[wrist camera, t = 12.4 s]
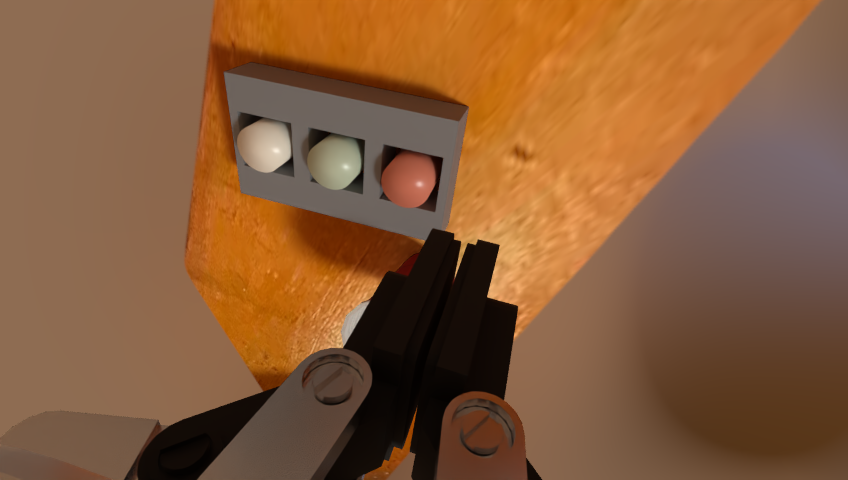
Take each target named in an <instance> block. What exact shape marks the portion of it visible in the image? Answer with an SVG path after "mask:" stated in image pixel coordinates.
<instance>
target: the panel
mask: <svg viewBox="0 0 848 480" xmlns="http://www.w3.org/2000/svg"><path fill="white" fill-rule="evenodd" d="M224 77H225V84H226V91H227V98H228V105H229V112H230V119H231V126H232V133H233V140H234V147H235V154H236V161H237V168H238V174H239V181H240V188H241V193H244V194H247V195H251V196H255V197H259V198H263V199H267V200H271V201H275V202H278V203H282V204H286V205H290V206H294V207H298V208H302V209H305V210H309V211H313V212H317V213H321V214H325V215H329V216H332V217H336V218H340V219H344V220H348V221H352V222H356V223H360V224H363V225H367V226H371V227H375V228H379V229H383V230H387V231H390V232H394V233H398V234H402V235H406V236H410V237H414V238H418V239H421V240H425V241H426V239H427V237H428V235H429V233H430V231H431V230H432V228H435V229H439V230H443V231H445V230H446V227H447V225H448V223H449V218H450V212H451V206H452V200H453V195H454V189H455V183H456V177H457V172H458V166H459V160H460V155H461V149H462V143H463V137H464V132H465V126H466V120H467V114H468V109H469V107H468V106H463V105H458V104H453V103H448V102H443V101H438V100H433V99H428V98H424V97H419V96H414V95H409V94H404V93H399V92H394V91H389V90H384V89H380V88H375V87H370V86H365V85H360V84H355V83H350V82H345V81H341V80H336V79H331V78H326V77H321V76H316V75H311V74H306V73H301V72H297V71H292V70H287V69H282V68H277V67H272V66H267V65H262V64H257V63H253V62H250V63H247V64H244V65H241V66H239V67H236V68H233V69H230V70H227V71H225V72H224ZM264 117H265V118H270V119H274V120H279V121H283V122H288V123H291V129H292V145H293V157H292V158H290V159H289V160H288V161H286V162H285V163H284V164H282V165H281V166H280V167H278V168H277V169H276V170H274V171H272V172H268V173H264V172H260V171H257V170H255V169H253V168H252V167H250V166H249V165H248V164H247V163H246V162H245V161H244V159H243V158H242V156H241V155H240V152H239V150H238V146H237V138H238V135H239V133H240V131H241V130H243V129H244V128H246V127H248V126H249V125H251V124H253V123H255V122H257V121H258V120H260V119H262V118H264ZM328 132H332V133H336V134H341V135H345V136H350V137H354V138H358V139H363V140H365V156H364V173H361V172H360V173H359V174H358V175H357V176H356V177H355V179H354V180H353V181H352V182H351V183H350V184H349V185H348V186H347V187H345V188H343V189H339V190H332V189H328V188H326V187H324V186H322V185H321V184H319V183H318V182H317V181H316V180H315V179H314V178H313V176H312V175H311V173H310V171H309V168H308V164H307V158H308V154H309V152H310V150H311V149H312V148H313V147H314V146H315V145H317V144H318V143H319V142H321V141H322V140H323V139H325V138H326V137H327V136H328ZM396 147H398V148H403V149H407V150H412V151H416V152H420V153H425V154H429V155H434V156H438V157H443V165H442V172H441V178H440V185H439V191H436V190H432V192H431V193H430V195H429V197H428V198H427V200H426V201H425V202H424V203H423V204H422V205H420V206H418V207H414V208H405V207H401V206H398V205H396V204H395V203H393V202H392V201H391V200H390V199H389V198H388V197H387V196H386V195H385V193H384V191H383V188H382V184H381V178H382V174H383V172H384V170H385V169H386V167H387V166H388V165H389V164H390V163H391V161H392V160H393V159H394V158H395V154H396Z"/></svg>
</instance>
